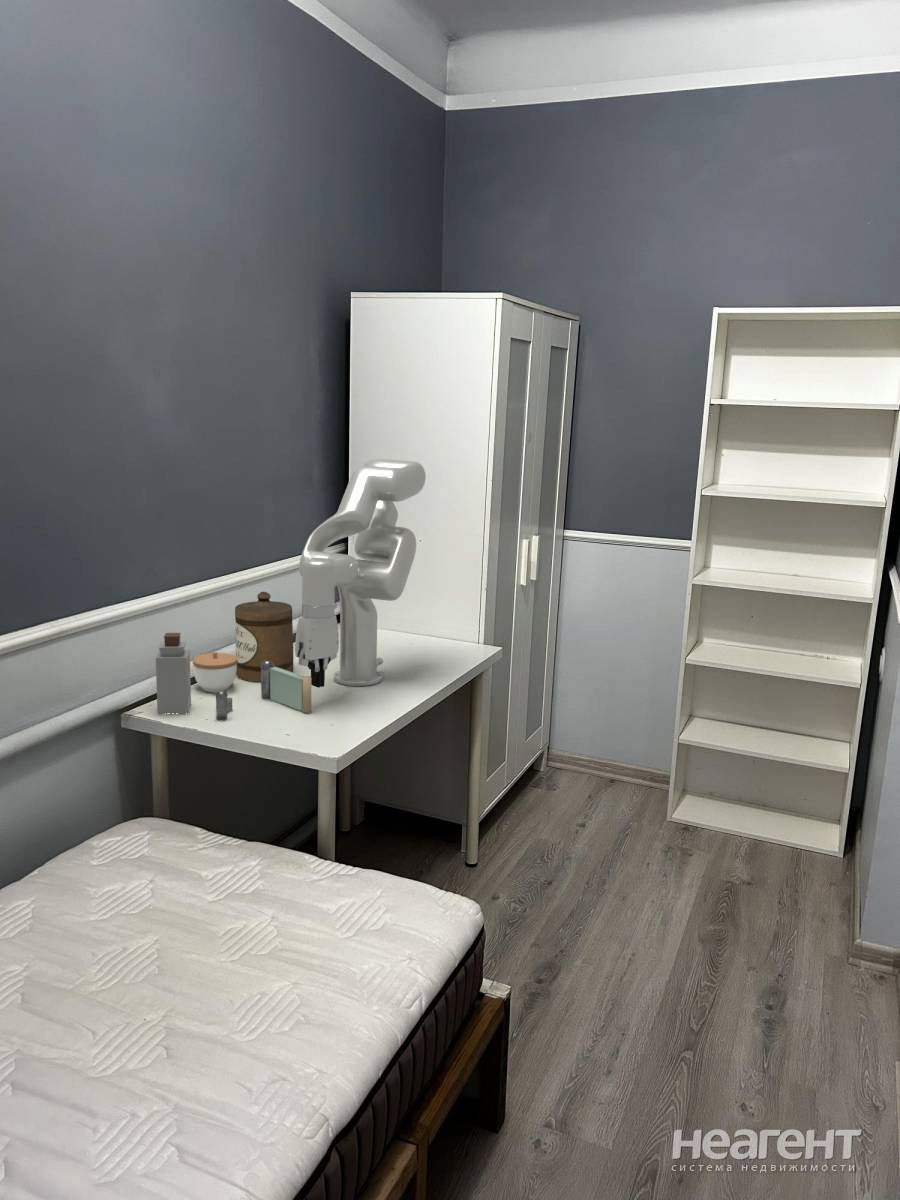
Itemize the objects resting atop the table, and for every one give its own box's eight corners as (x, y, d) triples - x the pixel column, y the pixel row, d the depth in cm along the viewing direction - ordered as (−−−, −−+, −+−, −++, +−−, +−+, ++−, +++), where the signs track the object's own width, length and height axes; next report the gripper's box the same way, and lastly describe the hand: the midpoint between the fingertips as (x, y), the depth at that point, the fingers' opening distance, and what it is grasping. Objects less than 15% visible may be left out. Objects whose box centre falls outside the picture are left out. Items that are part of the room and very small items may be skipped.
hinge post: (266, 694, 229) (265, 657, 227) (276, 696, 228) (276, 659, 226) (258, 698, 226) (257, 660, 224) (269, 700, 225) (268, 662, 223)
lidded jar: (207, 679, 239) (206, 644, 237) (245, 684, 236) (245, 649, 234) (185, 692, 229) (184, 655, 227) (224, 697, 226) (223, 660, 224)
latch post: (229, 709, 218) (228, 682, 216) (241, 712, 216) (241, 685, 215) (209, 718, 212) (209, 690, 210) (222, 721, 210) (222, 693, 209)
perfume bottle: (191, 704, 221) (189, 630, 217) (188, 714, 214) (186, 638, 210) (161, 705, 219) (158, 631, 215) (157, 714, 213) (154, 638, 209)
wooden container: (230, 668, 249) (229, 588, 244) (285, 663, 255) (285, 585, 250) (242, 685, 236) (241, 600, 231) (299, 679, 242) (299, 597, 237)
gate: (269, 699, 225) (269, 666, 223) (276, 697, 227) (275, 665, 225) (306, 713, 217) (306, 679, 215) (313, 711, 218) (313, 677, 216)
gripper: (332, 603, 227) (331, 676, 231) (282, 612, 216) (282, 688, 220) (353, 609, 222) (351, 683, 226) (303, 618, 211) (302, 696, 215)
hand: (317, 685), depth 223 cm, fingers closed
